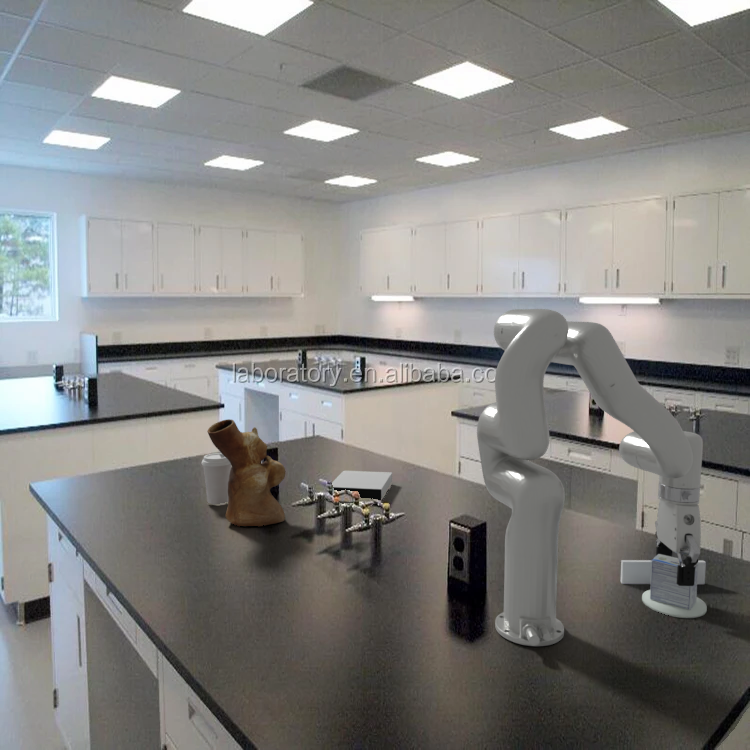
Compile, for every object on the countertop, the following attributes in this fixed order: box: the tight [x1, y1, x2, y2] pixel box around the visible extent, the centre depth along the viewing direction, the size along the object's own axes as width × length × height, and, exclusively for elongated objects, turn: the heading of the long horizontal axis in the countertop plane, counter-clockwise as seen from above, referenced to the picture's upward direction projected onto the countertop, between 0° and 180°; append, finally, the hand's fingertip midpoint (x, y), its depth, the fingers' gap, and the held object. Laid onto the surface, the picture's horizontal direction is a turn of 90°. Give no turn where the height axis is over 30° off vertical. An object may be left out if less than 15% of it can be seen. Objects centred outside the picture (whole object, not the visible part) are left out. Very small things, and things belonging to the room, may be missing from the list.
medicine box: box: [649, 554, 698, 610], centre depth 130 cm, size 8×4×9 cm, turn 50°
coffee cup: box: [201, 452, 232, 504], centre depth 198 cm, size 10×10×15 cm
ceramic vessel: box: [207, 419, 286, 527], centre depth 179 cm, size 16×22×30 cm
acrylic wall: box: [620, 559, 707, 585], centre depth 140 cm, size 1×18×5 cm, turn 89°
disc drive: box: [331, 470, 393, 500], centre depth 210 cm, size 18×22×5 cm
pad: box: [641, 589, 708, 619], centre depth 130 cm, size 12×12×1 cm
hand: (673, 575), depth 130 cm, fingers open, 9 cm apart
